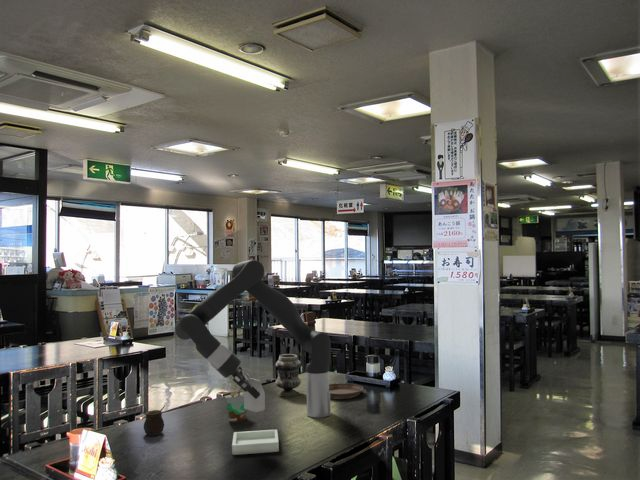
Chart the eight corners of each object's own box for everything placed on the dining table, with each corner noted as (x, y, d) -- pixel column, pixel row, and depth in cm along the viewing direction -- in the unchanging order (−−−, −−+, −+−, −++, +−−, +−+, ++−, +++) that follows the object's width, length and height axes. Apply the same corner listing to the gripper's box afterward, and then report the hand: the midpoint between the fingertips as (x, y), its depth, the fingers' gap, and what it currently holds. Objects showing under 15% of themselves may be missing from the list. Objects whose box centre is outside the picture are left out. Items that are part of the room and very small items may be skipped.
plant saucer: (321, 389, 247) (321, 382, 247) (364, 389, 244) (364, 382, 244) (315, 400, 226) (315, 393, 226) (362, 401, 224) (361, 393, 224)
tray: (277, 438, 178) (277, 429, 178) (278, 451, 165) (278, 442, 166) (234, 441, 176) (233, 432, 177) (232, 454, 164) (232, 445, 164)
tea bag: (255, 412, 168) (255, 381, 168) (244, 408, 173) (243, 378, 173) (264, 409, 170) (264, 379, 171) (252, 406, 175) (252, 376, 176)
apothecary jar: (300, 397, 232) (299, 357, 233) (274, 397, 232) (273, 358, 233) (301, 390, 244) (301, 352, 245) (277, 391, 244) (276, 353, 245)
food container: (242, 424, 194) (242, 398, 195) (227, 424, 196) (227, 397, 196) (253, 415, 206) (252, 390, 207) (239, 414, 208) (238, 389, 208)
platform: (261, 404, 223) (261, 389, 223) (226, 413, 211) (225, 397, 211) (246, 399, 232) (246, 385, 232) (211, 408, 220) (211, 392, 220)
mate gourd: (142, 432, 188) (142, 405, 189) (164, 429, 191) (163, 402, 192) (144, 438, 181) (144, 410, 182) (166, 435, 184) (165, 407, 185)
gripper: (230, 356, 164) (266, 390, 165) (232, 348, 179) (265, 380, 179) (213, 373, 164) (250, 407, 164) (217, 364, 178) (251, 396, 179)
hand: (258, 393), depth 172 cm, fingers closed on tea bag, 7 cm apart
